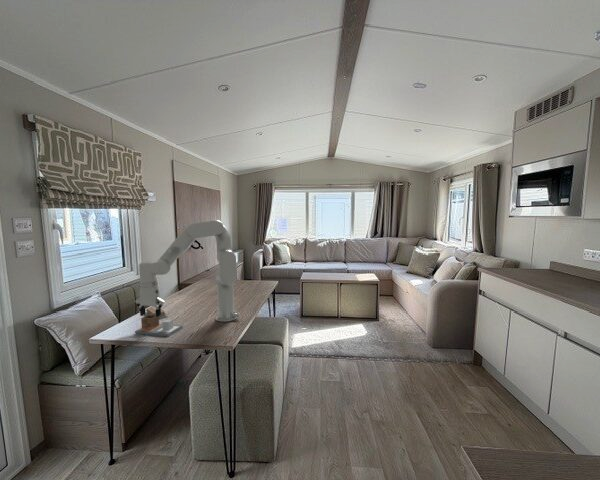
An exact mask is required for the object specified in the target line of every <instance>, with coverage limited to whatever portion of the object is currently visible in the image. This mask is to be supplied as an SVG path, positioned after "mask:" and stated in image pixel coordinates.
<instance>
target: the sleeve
mask: <svg viewBox="0 0 600 480" xmlns="http://www.w3.org/2000/svg"><path fill="white" fill-rule="evenodd" d="M140 321H141V323H140V324H141V328H142V329H147V330H152V329H154V328H156V327H158V326H159V324H160V319H159V316H158V317H156V315H147V316H146V315H144V317H141V318H140Z"/></svg>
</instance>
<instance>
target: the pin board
mask: <svg viewBox="0 0 600 480" xmlns="http://www.w3.org/2000/svg"><path fill="white" fill-rule="evenodd" d="M182 329H183V325H182V324H181V325H180V324H174V319H167V318H166V319H165V320H164V321H162V323H159V326H158V327H156V328H154V329H152V330H147V329H142V327H141V328H139V329H137V330H135V331H134V333H136V334H135V335H141V334H145V335H146V336H155V337H170V336H172V335H174V334H175V333H177V332H179V331H180V330H182ZM145 335H144V336H145Z"/></svg>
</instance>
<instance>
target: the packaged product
mask: <svg viewBox="0 0 600 480" xmlns="http://www.w3.org/2000/svg"><path fill="white" fill-rule="evenodd" d="M145 313H146V314H145V315H144V316H147V315H156V308H155V306H149V307H148V308H146V309H145ZM168 317H169V315H168V314H167V313H166V312H165V311H164V309H162V308H161V315H160V316H159V320H161V319H165V318H166V319H167V318H168Z"/></svg>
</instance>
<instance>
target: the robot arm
mask: <svg viewBox="0 0 600 480" xmlns="http://www.w3.org/2000/svg"><path fill="white" fill-rule="evenodd" d="M213 236H214V238H215V243H216V260H217V263H219V268H218V269H217V271H216V272H215V280H216V288H217V315H216V316H215V320H216V321H217V322H220V323H223V322H227V323H228V322H231V321H235V320H237V318H240V317H241V313H240V312H237V310H236V309H235V290H234V283H235V282H236V280H237V277H238V276H237V273H238V272H237V269H238V267H237V256H236V254H235V252H233V250H232V249H233V248H232V239H231V237H232V236H231V234H230V232H229V230H228V228H227V227H226V226H225V224H224V223H223V222H222V221H221V220H218V219H212V220H211V219H210V220H207V221H197V222H190V223H189V224H187V225H186V226H185V227H184V229H183V230H182V231H181V232H180V234H178V236H177V237H176V238H175V240H174V241H173V242H172V243H171V244H170V245H169V247H168V248H167V249H166V250H165V252H163V254H162V255H161V256H160V257H159V259H158V260H157V261H143V262H140V263H139V264H138V267H139V268H138V269H139V270H138V271H139V283H140V285H139V286H140V288H139V294H138V298H137V299H136V300H135V303H136V306H137V307H138V309H139V314H140V315H139V316H141V317H142V316H146V315H145V314H146V313H145V312H146V307H147V306H148V307H152V306H155V308H156V317H158V316H160V315H161V309H162V307H163V306H164V303H165V300H164V299H162V298H161V293H160V289H159V287H158V282H157V277H156V276H158V275H159V276H162V275H163V276H164V275H167V274H168V273H170V270H171V267H172V265H173V264H174V263H175V262H176V260H177V259H179V258H180V256H182V255H183V254H185V253H186V252H187V251H188V250H189V249H190V247H191V246H192V245H193V244H194V242H195V241H196V240H197V239H201V238H207V237H213Z"/></svg>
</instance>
